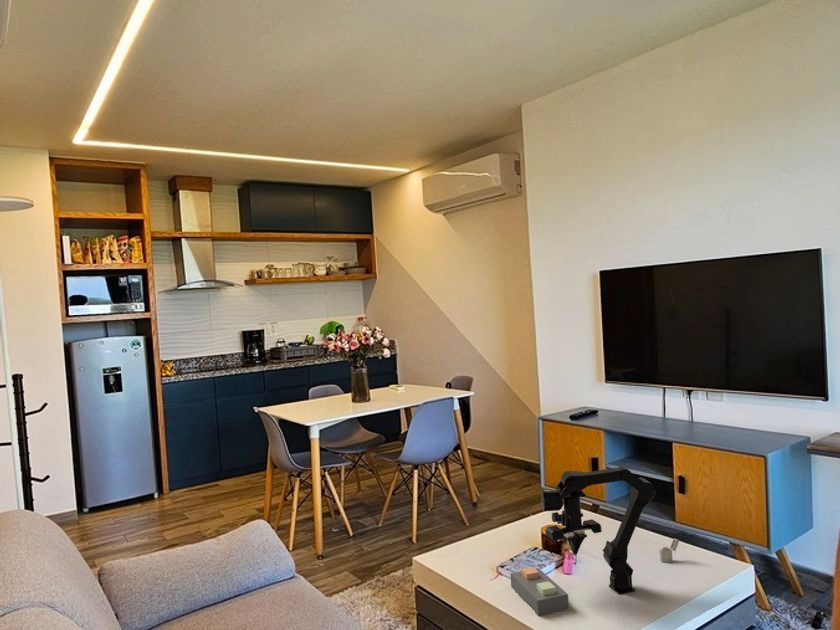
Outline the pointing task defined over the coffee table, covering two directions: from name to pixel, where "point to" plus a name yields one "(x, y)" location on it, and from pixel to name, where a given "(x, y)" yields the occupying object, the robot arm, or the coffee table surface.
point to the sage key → (546, 588)
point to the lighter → (668, 552)
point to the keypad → (534, 598)
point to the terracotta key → (529, 573)
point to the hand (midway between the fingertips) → (574, 554)
